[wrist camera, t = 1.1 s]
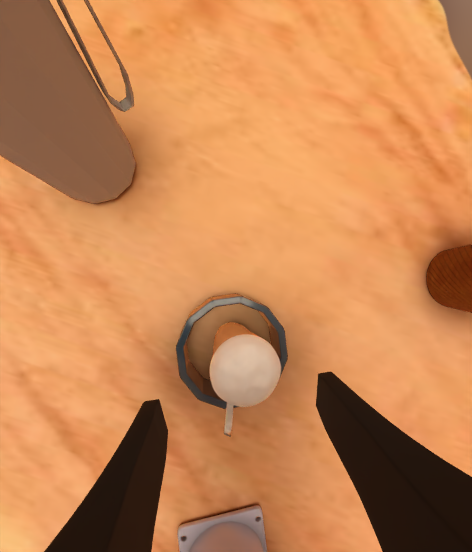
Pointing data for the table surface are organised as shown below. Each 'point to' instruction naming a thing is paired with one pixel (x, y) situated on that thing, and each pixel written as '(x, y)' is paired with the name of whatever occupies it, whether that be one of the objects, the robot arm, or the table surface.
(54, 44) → the water bottle
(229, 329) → the milkshake
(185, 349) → the brown hollow ring
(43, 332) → the table surface
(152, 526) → the robot arm
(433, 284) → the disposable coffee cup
